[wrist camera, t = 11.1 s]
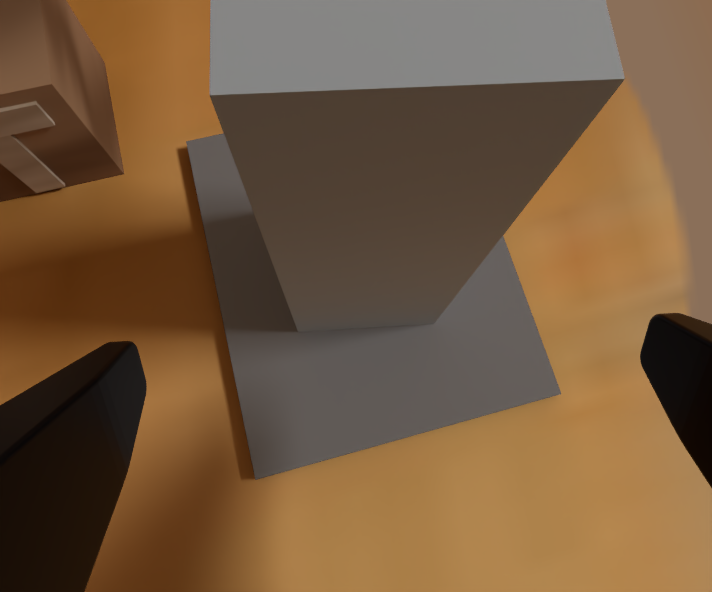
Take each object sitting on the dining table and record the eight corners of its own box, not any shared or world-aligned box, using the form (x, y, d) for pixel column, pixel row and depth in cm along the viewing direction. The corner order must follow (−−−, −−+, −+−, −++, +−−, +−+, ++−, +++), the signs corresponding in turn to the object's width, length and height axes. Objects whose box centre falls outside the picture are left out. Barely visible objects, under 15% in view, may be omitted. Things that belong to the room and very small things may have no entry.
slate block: (434, 323, 17) (624, 78, 6) (298, 332, 17) (209, 94, 5) (420, 200, 18) (553, -207, 7) (293, 206, 18) (211, -203, 7)
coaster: (556, 395, 17) (561, 394, 17) (257, 478, 16) (255, 479, 16) (445, 92, 20) (447, 85, 20) (189, 147, 19) (186, 141, 19)
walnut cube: (125, 178, 19) (49, 84, 14) (-17, 209, 18) (-147, 124, 13) (105, 63, 20) (29, -59, 15) (-28, 90, 20) (-151, -27, 15)
